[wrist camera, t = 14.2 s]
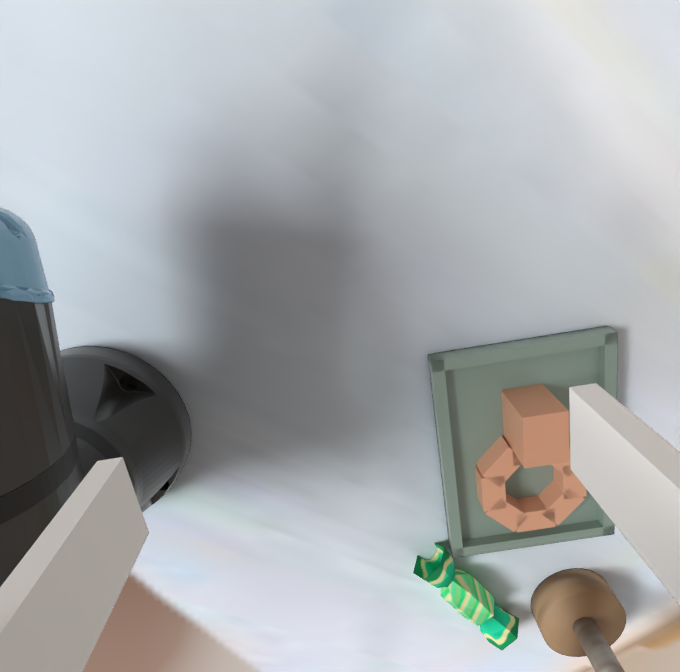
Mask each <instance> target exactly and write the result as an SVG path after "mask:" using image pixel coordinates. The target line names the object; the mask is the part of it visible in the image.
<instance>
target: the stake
mask: <svg viewBox="0 0 680 672" xmlns="http://www.w3.org/2000/svg"><path fill="white" fill-rule="evenodd" d="M531 611H532V614H533V616H534V618H535V620H536V622H537V625H538V627H539V629H540V631H541V633H542V636H543V638H544V640H545V642H546V643H547V645H548V646H549V647H550V648H551V649H552V650H554V651H555V652H557V653H559V654H562V655H566V656H573V657H581V656H587V657H588V659H589V661H590V662H591V664H592V666H593V668H594V670H595V672H624V670H623V668H622V666H621V665H620V663H619V661H618V660H617V658H616V656H615V654H614V653H613V651H612V649H611V648H610V646H611V645H612V644H613V643H614V642H615V641H616V640H617V639H618V638H619V637H620V635H621V634H622V632H623V630H624V628H625V624H626V614H625V611H624V609H623V607H622V605H621V604H620V602H619V601H618V599H617V598H616V596H615V595H614V593H613V592H612V590H611V589H610V587H609V586H608V584H607V583H606V581H605V580H604V579H603V578H602V577H601V576H600V575H598V574H597V573H595V572H592V571H590V570H586V569H568V570H563V571H560V572H557V573H555V574H553V575H551V576H549V577H548V578H546V579H545V580H544V581H542V582H541V583H540V584H539V585H538V587H537V588H536V589H535V591H534V593H533V595H532V598H531Z"/></svg>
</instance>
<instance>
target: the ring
mask: <svg viewBox="0 0 680 672" xmlns="http://www.w3.org/2000/svg"><path fill="white" fill-rule="evenodd" d="M501 399H502V415H503V430H504V437H503V436H502V435H501V436H500V437H499V438H498V439H497V440H496V441H495V442H494V444H493V445H492V446H491V447H490V448H489V449H488V450H487V451H486V452H485V453H484V454H483V456H482V457H481V458H480V459H479V460H478V461H477V462H476V464H477V465H476V466H475V474H476V485H477V497H478V499H479V502H480V504H481V506H482V508H483V510H484V512H485V514H486V515H488V516H490V517H491V518H493V519H494V520H496V521H497V522H499V523H501V524H502V525H504V526H505V527H507V528H509V529H510V530H512V531H513V532H515V530H516V531H517V533H518V532H524V531H531V530H538V529H545V528H551V527H555V524H557V525H559V524H560V523H561V522H562V521H563V520H564V519H565V518H566V517H567V516H568V515H569V514H570V513H571V512H572V511H573V510H574V509H575V508H577V507H578V506H579V505H580V504H581V503H582V502H583V501H584V500H585V498H584V496H586V488H585V486H584V485H583V484H582V483H581V481H580V480H579V479H578V478H577V476H576V475H575V474H574V473H573V471H572V470H571V463H570V445H569V411H568V410H567V409H566V407H565V406H564V405H563V404H562V403H561V402H560V401H559V400H558V399H557V398H556V397H555V396H554V395H553V394H552V393H551V392H550V391H549V390H548V389H547V388H546V387H545V386H544V385H543V384H536V385H529V386H523V387H517V388H510V389H504V390H501ZM520 465H523V466H524V468H532V467H539V466H545V465H552V466H553V471H554V480H553V481H552V482H551V483H550V484H549V485H548V486H547V487H546V488H545V489H544V490H543V491H542V492H541V493H540V494H539V495H538V496H532V497H525V498H518V499H515V498H514V497H512V496H510V495H509V494H507V493H506V491H505V481H506V480H507V479H508V478H509V477H510V476H511V475H512V474H513V473H514V472H515V471H516V470H517V469H518V468H519V466H520Z"/></svg>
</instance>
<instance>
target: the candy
mask: <svg viewBox="0 0 680 672" xmlns="http://www.w3.org/2000/svg"><path fill="white" fill-rule="evenodd" d="M435 545H436V547H437V549H438V551H437V552H436V553H435V555H434V556H433V558H432V559H431V560H425V559H422V558H421V557H420V556H419V555H418V556H417V560H416V564H415V568H414V572H413V573H414V574H416V575H417V576H419V577H421V578H422V579H424V580H425V581H427V582H429V583H430V584H432V585H433V586H435V587H437V588H440V587H442V589H441V596H442V597H443V598H444V599H445V600H446V601H447V602H448V603H449V604H450V605H452V606H453V607H454V608H455V609H456V610H457V611H458V612H459V613H460V614H461V615H463V616H464V617H465V618H467V619H468V620H470V621H471V622H473V623H474V624H476V625H478V626H479V625H480V630H481V632H482V633H483V635H484V636H485V637H486V638H487V640H488V641H489V642H490V643H491V644H493V645H494V646H496V647H497V648H499V649H501V650H503V649H504V648H506V647H507V646H508V645H510V644H511V643H512V642H513V641H515V640H516V639H517V635H518V623H519V618H517V617H515V616H513V615H512V614H510V613H508V612H506V611H504V610H503V609H501V608H500V607H498V606H497V605H496V604H494V596H492V595H491V594H490V593H489V592H488V591H487V590H486V589H485V588H484V587H483V586H482V585H481V584H480V583H479V582H478V581H477V580H476V579H475V578H474V577H472V576H471V575H470V574H468V573H466V572H464V571H462V570H460V569H455V567H454V560H453V558H452V557H451V556H450V554H449V553H448V552H447V550H446V549H445V548H444V547H442V546H440V545H438V544H436V543H435Z"/></svg>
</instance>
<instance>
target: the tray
mask: <svg viewBox="0 0 680 672" xmlns="http://www.w3.org/2000/svg"><path fill="white" fill-rule="evenodd" d="M617 343H618V332H617V331H615V330H614V329H612V328H610V327H609V326H602V327H596V328H590V329H584V330H577V331H571V332H565V333H559V334H552V335H546V336H540V337H533V338H527V339H521V340H515V341H508V342H502V343H496V344H489V345H483V346H477V347H471V348H464V349H458V350H452V351H446V352H439V353H433V354H428V362H429V371H430V380H431V388H432V397H433V406H434V415H435V424H436V433H437V441H438V450H439V459H440V468H441V477H442V486H443V495H444V503H445V512H446V521H447V530H448V539H449V546H450V550H451V553H452V556H453V558H456V557H463V556H470V555H477V554H484V553H490V552H497V551H504V550H511V549H517V548H524V547H531V546H538V545H544V544H551V543H558V542H565V541H572V540H578V539H585V538H592V537H599V536H605V535H612V534H614V523H613V522H612V520H611V519H610V518H609V517H608V515H607V514H606V513H605V512H604V510H603V509H602V508H601V507H600V505H599V504H598V503H597V502H596V500H595V499H594V498H593V497H592V495H591V494H590V493H589V492H588V490H587V489H586V496H584V498H585V500H584V501H583V502H582V503H581V504H580V505H579V506H578V507H577V508H575V509H574V510H573V511H572V512H571V513H570V514H569V515H568V516H567V517H566V518H565V519H564V520H563V521H562V522H561V523H560V524H559V525H557V524H555V527H551V528H545V529H538V530H531V531H524V532H518V533H517V531H516V530H515V532H513V531H512V530H510V529H509V528H507V527H505V526H504V525H502V524H501V523H499V522H497V521H496V520H494V519H493V518H491V517H490V516H488V515H486V514H485V512H484V510H483V508H482V506H481V504H480V502H479V499H478V497H477V485H476V474H475V466H476V465H477V464H476V462H477V461H478V460H479V459H480V458H481V457H482V456H483V454H484V453H485V452H486V451H487V450H488V449H489V448H490V447H491V446H492V445H493V444H494V442H495V441H496V440H497V439H498V438H499V437H500V436H501V435H502V436H503V437H504V430H503V415H502V399H501V390H504V389H510V388H517V387H523V386H529V385H536V384H543V385H544V386H545V387H546V388H547V389H548V390H549V391H550V392H551V393H552V394H553V395H554V396H555V397H556V398H557V399H558V400H559V401H560V402H561V403H562V404H563V405H564V406H565V407H566V409H567V410H568V411H569V445H570V402H569V387H574V386H581V385H587V384H594V383H596V384H598V385H599V386H600V387H601V388H603V389H604V390H605V391H606V392H607V393H609V394H610V395H611V396H612V397H614V398H615V399H616V400H617ZM553 480H554V471H553V466H552V465H545V466H539V467H532V468H524V466H523V465H520V466H519V468H518V469H517V470H516V471H515V472H514V473H513V474H512V475H511V476H510V477H509V478H508V479H507V480H506V481H505V491H506V493H507V494H509V495H510V496H512V497H514V498H515V499H518V498H525V497H532V496H538V495H539V494H540V493H541V492H542V491H543V490H544V489H545V488H546V487H547V486H548V485H549V484H550V483H551V482H552V481H553Z"/></svg>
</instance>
